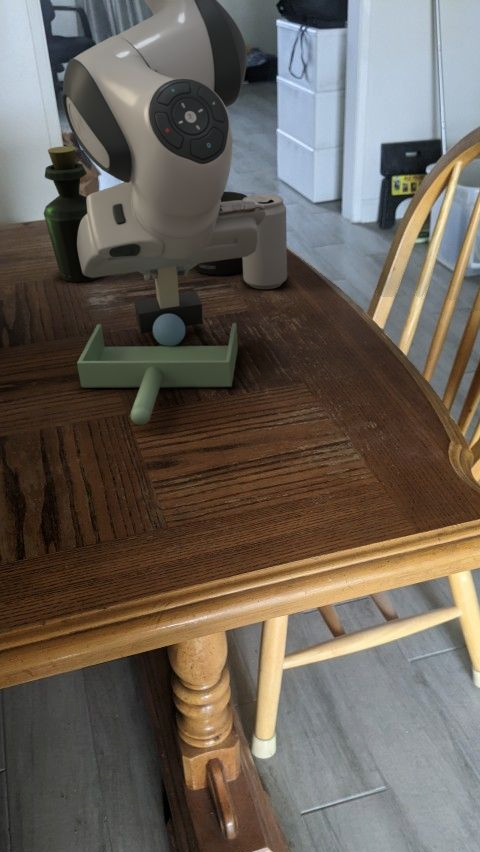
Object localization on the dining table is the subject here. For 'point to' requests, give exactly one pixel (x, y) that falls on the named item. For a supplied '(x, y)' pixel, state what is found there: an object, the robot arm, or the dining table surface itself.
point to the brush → (168, 302)
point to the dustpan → (155, 368)
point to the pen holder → (229, 264)
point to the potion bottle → (66, 211)
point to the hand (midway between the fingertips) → (164, 272)
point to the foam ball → (169, 330)
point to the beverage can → (268, 245)
